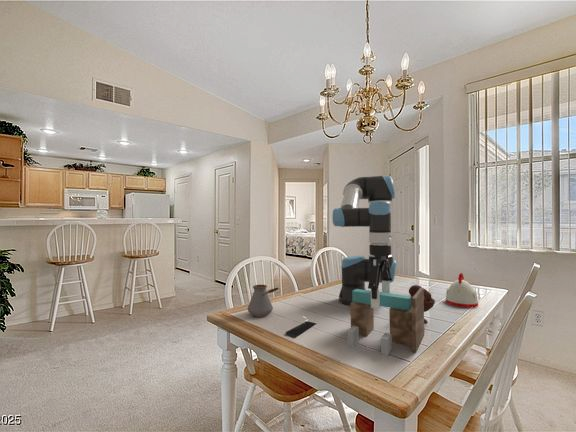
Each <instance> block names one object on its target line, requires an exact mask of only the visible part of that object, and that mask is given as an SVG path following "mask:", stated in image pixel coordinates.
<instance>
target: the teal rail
mask: <svg viewBox="0 0 576 432" xmlns="http://www.w3.org/2000/svg"><path fill="white" fill-rule="evenodd" d="M352 302H357V303H363V304H370V305H371V290H370V289H366V290H361V289H355V290H353V291H352ZM379 305H380V307H384V308H389V309H390V308H395V309H401V310H402V311H407V310H408V311H410V309H411V308H412V296H411V295H407V294H398V293H391V292H390V293H384V292H382V291H379Z"/></svg>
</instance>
